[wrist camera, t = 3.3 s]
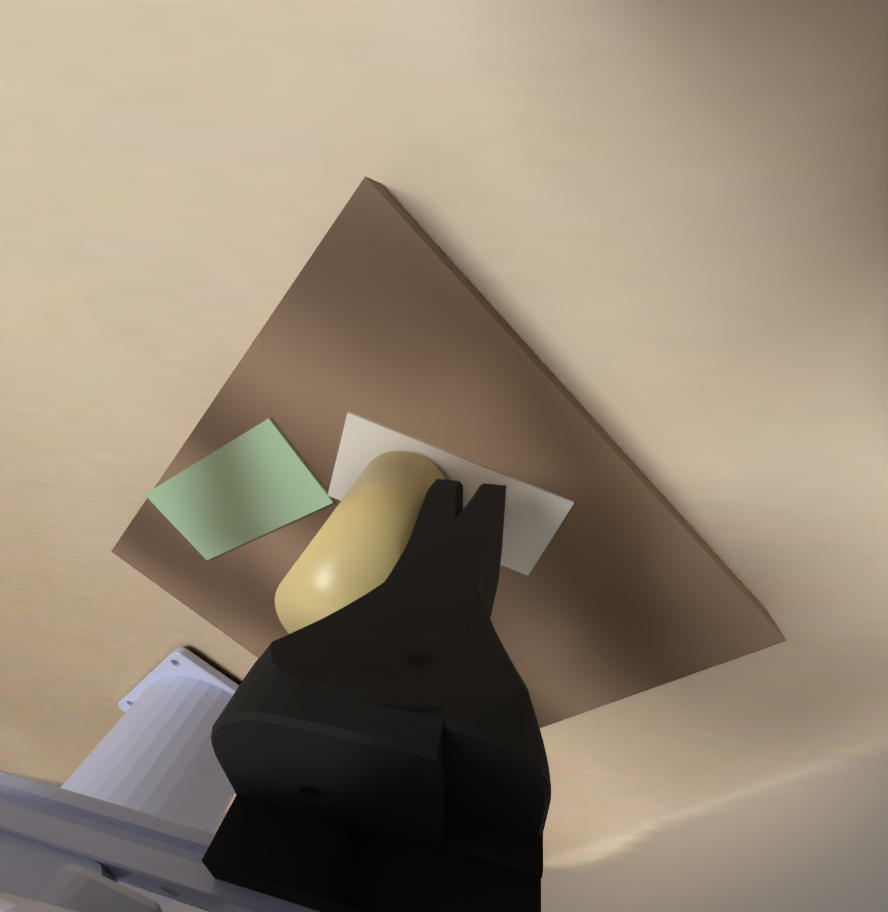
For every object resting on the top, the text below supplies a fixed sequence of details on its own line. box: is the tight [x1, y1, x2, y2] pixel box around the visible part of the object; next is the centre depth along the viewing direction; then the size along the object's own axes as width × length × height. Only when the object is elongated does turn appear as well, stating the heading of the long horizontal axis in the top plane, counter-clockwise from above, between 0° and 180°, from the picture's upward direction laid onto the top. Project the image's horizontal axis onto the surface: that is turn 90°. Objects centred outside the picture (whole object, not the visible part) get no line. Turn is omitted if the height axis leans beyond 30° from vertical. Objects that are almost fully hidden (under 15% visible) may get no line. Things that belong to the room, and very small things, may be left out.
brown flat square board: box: [111, 177, 786, 728], centre depth 15 cm, size 18×18×1 cm
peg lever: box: [275, 451, 445, 634], centre depth 13 cm, size 13×5×5 cm, turn 169°
